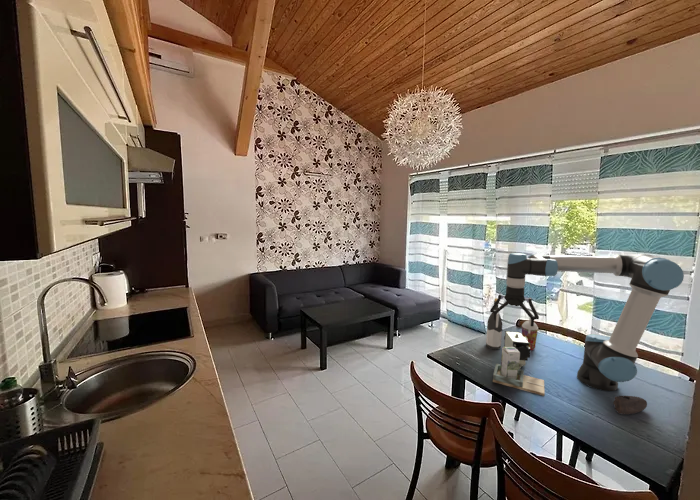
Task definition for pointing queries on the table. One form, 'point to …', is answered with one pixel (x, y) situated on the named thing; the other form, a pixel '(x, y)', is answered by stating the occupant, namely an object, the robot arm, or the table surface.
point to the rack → (520, 381)
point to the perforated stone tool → (629, 404)
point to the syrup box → (510, 362)
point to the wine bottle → (494, 331)
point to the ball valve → (518, 345)
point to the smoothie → (530, 334)
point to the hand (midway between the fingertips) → (512, 329)
